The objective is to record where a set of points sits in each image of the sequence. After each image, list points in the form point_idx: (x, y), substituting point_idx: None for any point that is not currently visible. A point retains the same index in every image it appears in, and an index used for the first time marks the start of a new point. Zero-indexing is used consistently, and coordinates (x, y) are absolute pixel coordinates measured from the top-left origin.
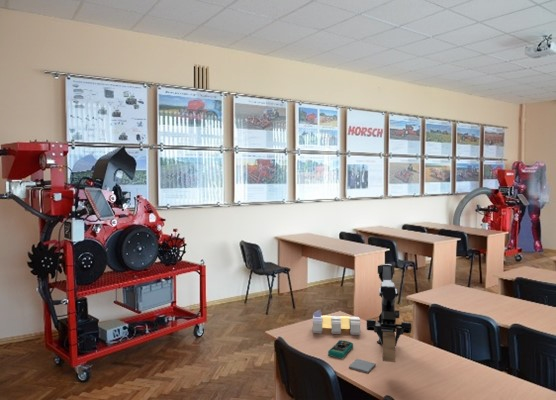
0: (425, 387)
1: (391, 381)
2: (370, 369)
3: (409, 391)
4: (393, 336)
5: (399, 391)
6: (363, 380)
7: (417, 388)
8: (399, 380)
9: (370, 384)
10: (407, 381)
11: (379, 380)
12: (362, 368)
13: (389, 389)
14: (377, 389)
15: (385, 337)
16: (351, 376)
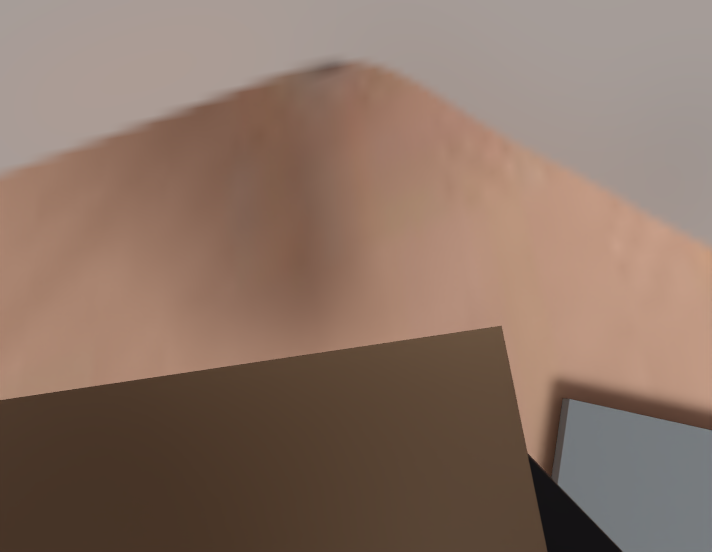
0: (13, 301)
1: (314, 306)
2: (557, 470)
3: (152, 182)
4: (2, 422)
5: (234, 153)
6: (571, 232)
7: (83, 258)
8: (241, 354)
9: (492, 182)
10: (167, 360)
11: (426, 286)
12: (648, 451)
13: (319, 155)
14: (418, 120)
15: (385, 352)
16: (705, 270)
